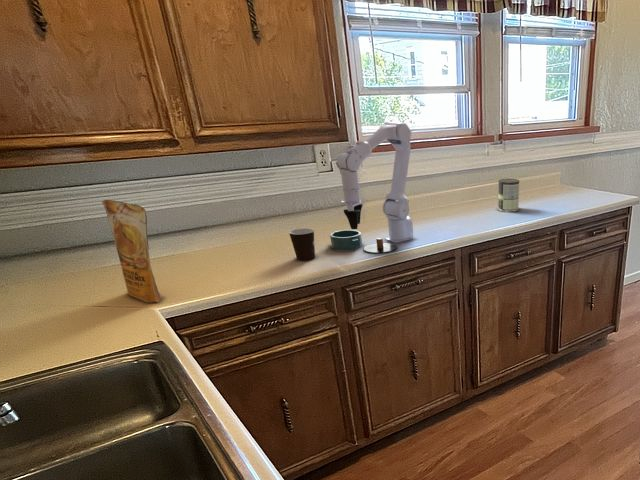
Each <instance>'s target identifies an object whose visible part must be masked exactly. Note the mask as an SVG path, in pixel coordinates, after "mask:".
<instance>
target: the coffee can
mask: <svg viewBox="0 0 640 480" xmlns="http://www.w3.org/2000/svg"><path fill="white" fill-rule="evenodd" d="M519 195H520V180H519V179H517V178H501V179H498V203H497V204H498V206H497V209H498V211H500V212H506V213H507V212H508V213H512V212H513V213H514V212H516V211H519Z"/></svg>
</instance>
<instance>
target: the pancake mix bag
mask: <svg viewBox="0 0 640 480" xmlns="http://www.w3.org/2000/svg"><path fill="white" fill-rule="evenodd" d="M101 203H102V205H103V207H104V209H105V213H106V217H107V219H108V223H109V227H110V230H111V234H112V236H113V241H114V244H115V249H116V252H117V256H118V260H119V263H120V266H121V272H122V275H123V279H124V283H125V287H126V290H127V293H128V295H129V296H130V297H132V298H134V299H137V300H139V301H141V302H144V303H145V304H152V303H160V302H161V301H162V296H161V294H160V292H159V288H158V286H157V285H158V284H157V283H156V280H155V276H154V273H153V269H152V266H151V259H150V258H151V257H150V249H149V247H150V246H149V239H148V218H147V217H148V216H147V211H146V209H145V208H144V207H142V205H141V206H140V205H139V204H133V203H128V202H123V201H119V200H113V199H104V200H102V201H101Z"/></svg>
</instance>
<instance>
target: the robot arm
mask: <svg viewBox="0 0 640 480" xmlns="http://www.w3.org/2000/svg"><path fill="white" fill-rule="evenodd" d="M411 137H412V130H411V128H410V127H409V125H408V124H407V123H406V122H394V121H385V122H383V123H382V124H380V125H379V128H378V129H377V130H376V131H375V132H374V133H372V135H370V137H368V138H367V139H366V140H357V141H355V145H353V146H352V147H351V148H348V149H346V152H341V153H340V154H339V155H338V156H337V158H336V161H335V164H336V167H337V169H338V170H339V174H340V176H341V183H342V185H341V186H342V191H343V198H344V200H341V205H345V206H346V209H345V208H344V209H343V213H344V215H345V216H346V219H347V221H348V224H349V226H350V230H357V229H358V227H359V226H358V225H360V224H361V213H362V208H363V205H364V203H362V199H361V193H360V184H359V175H358V174H359V173H358V170H359V169H360V166H361V165H362V163H363V162H365V160H366V159H367V158H370V156H371V155H372V153H373V152H372V150H373V149H375V148H376V147H378V146H379V145H380V144H382V143H383V142H385V141H387V142H388V143H389V144H390V145H391V146H392V147H393V148H394V149H395V154H394V161H393V171H392V178H391V186H390V192H388V194H386V195H385V199H384V202H383V204H382V212H383V214H384V215H385V216H386V219H387V228H388V237H386V238H385V240H388V241H390V242H393V243H400V242H405V241H409V240H410V241H411V240H414V239H415V237H414V225H413V220H412V218H411V217H410V216H409V214H410V206H409V202H410V201H409V198H408V197H407V196H406V195H405V194H406V187H407V178H408V171H409V164H410V156H411V150H412V149H411V148H412V147H411Z"/></svg>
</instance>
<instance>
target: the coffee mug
mask: <svg viewBox="0 0 640 480" xmlns="http://www.w3.org/2000/svg"><path fill="white" fill-rule="evenodd" d="M288 234H289V237H290V241H291V244H292V247H293V250H294V253H295V256H296V259H297V261H300V262H308V261H312V260H315V259H316V252H315V251H316V248H315V245H316V244H315V230H314V229H313V228H309V227H308V228H307V227H305V228H295V229H291V230H289V231H288Z"/></svg>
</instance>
